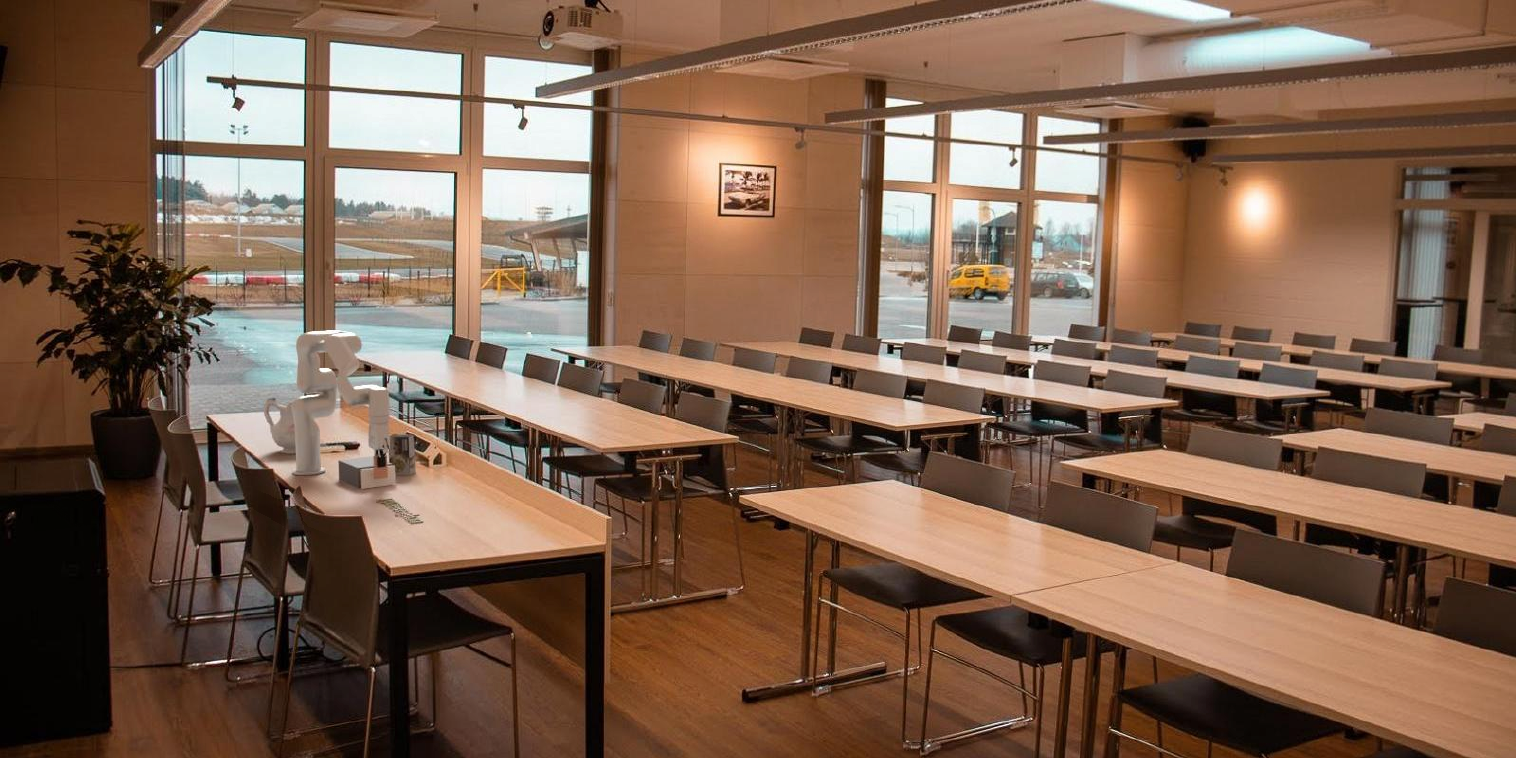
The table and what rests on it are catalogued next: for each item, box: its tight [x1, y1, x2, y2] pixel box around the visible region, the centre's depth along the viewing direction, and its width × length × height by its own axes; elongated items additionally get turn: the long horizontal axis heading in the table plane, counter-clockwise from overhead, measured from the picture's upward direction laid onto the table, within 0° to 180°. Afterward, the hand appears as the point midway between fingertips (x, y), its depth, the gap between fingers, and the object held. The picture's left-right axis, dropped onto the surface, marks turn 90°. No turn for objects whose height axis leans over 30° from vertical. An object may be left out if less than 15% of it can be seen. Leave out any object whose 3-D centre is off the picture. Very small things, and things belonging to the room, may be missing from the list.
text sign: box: [375, 498, 425, 524], centre depth 428 cm, size 40×1×8 cm
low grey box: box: [337, 455, 392, 489], centre depth 475 cm, size 19×14×8 cm
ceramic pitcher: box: [263, 397, 296, 455], centre depth 534 cm, size 22×20×25 cm
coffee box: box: [388, 433, 417, 476], centre depth 490 cm, size 9×6×16 cm
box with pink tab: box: [360, 453, 396, 490], centre depth 471 cm, size 21×14×13 cm, turn 41°
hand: (380, 466), depth 463 cm, fingers closed
